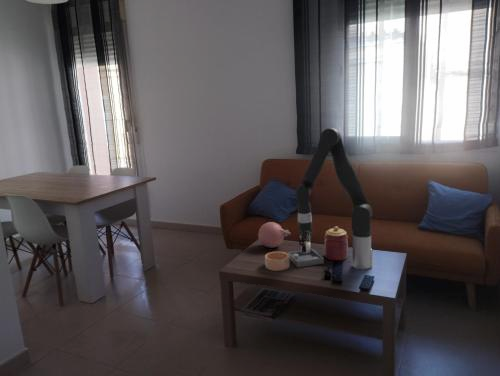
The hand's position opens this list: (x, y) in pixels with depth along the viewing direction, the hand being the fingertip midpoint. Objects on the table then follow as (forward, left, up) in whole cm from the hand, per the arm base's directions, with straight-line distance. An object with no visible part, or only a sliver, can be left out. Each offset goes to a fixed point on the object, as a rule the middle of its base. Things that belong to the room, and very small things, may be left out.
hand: (305, 250), depth 225 cm
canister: (-18, +1, -6) cm, 19 cm away
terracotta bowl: (+17, +2, -6) cm, 18 cm away
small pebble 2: (-4, +4, -5) cm, 8 cm away
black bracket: (-2, +23, -7) cm, 24 cm away
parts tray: (0, 0, -6) cm, 6 cm away
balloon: (+9, -26, -6) cm, 29 cm away
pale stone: (0, 0, -1) cm, 1 cm away
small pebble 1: (+4, -5, -5) cm, 8 cm away
